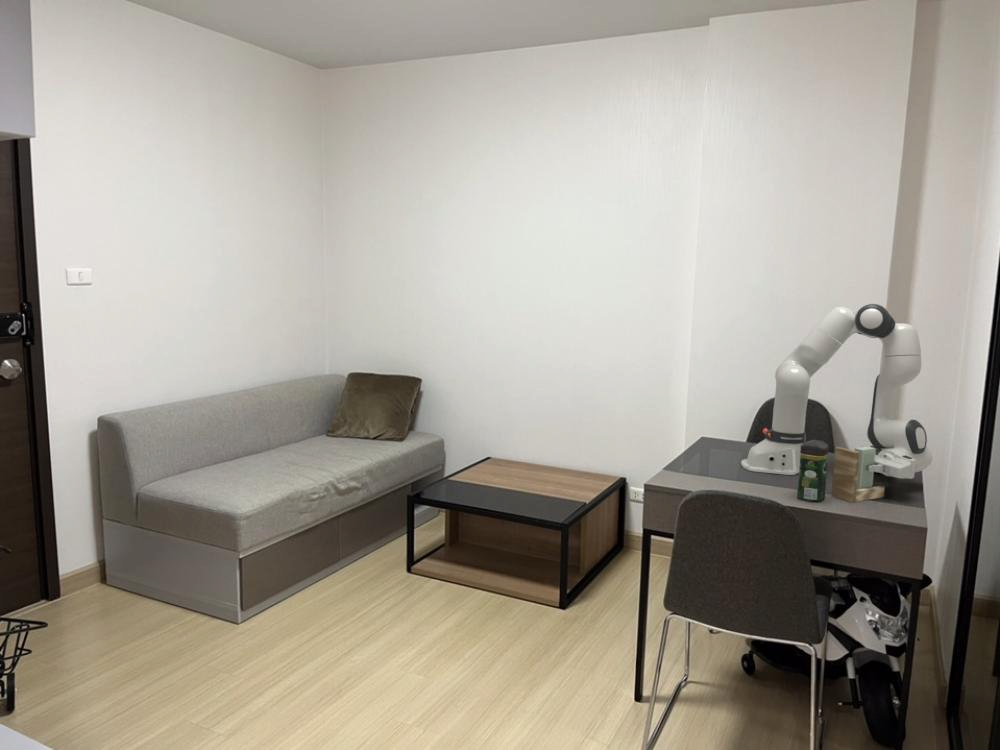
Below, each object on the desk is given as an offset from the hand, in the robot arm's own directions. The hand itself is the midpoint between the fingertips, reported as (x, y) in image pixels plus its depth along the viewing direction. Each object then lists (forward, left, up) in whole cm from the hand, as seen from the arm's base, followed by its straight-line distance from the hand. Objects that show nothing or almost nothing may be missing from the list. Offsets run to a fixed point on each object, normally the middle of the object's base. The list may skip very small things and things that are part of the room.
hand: (861, 466), depth 245 cm
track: (-1, 0, -10) cm, 10 cm away
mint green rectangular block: (+1, 0, -8) cm, 8 cm away
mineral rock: (+15, +31, -10) cm, 36 cm away
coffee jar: (-16, -5, -10) cm, 20 cm away
